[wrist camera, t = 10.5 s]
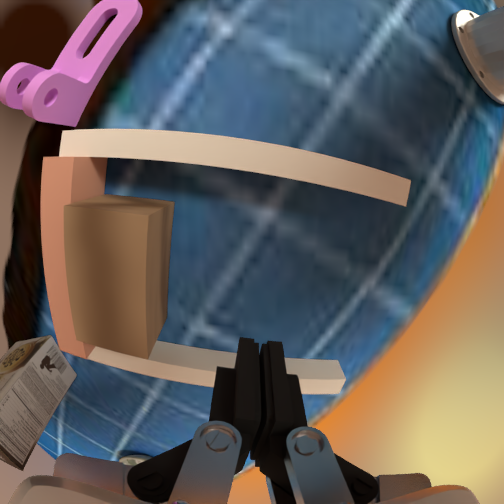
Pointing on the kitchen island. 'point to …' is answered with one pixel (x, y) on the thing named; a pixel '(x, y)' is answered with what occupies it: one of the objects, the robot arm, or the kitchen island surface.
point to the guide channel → (194, 152)
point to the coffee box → (30, 395)
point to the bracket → (71, 67)
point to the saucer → (134, 459)
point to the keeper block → (118, 270)
